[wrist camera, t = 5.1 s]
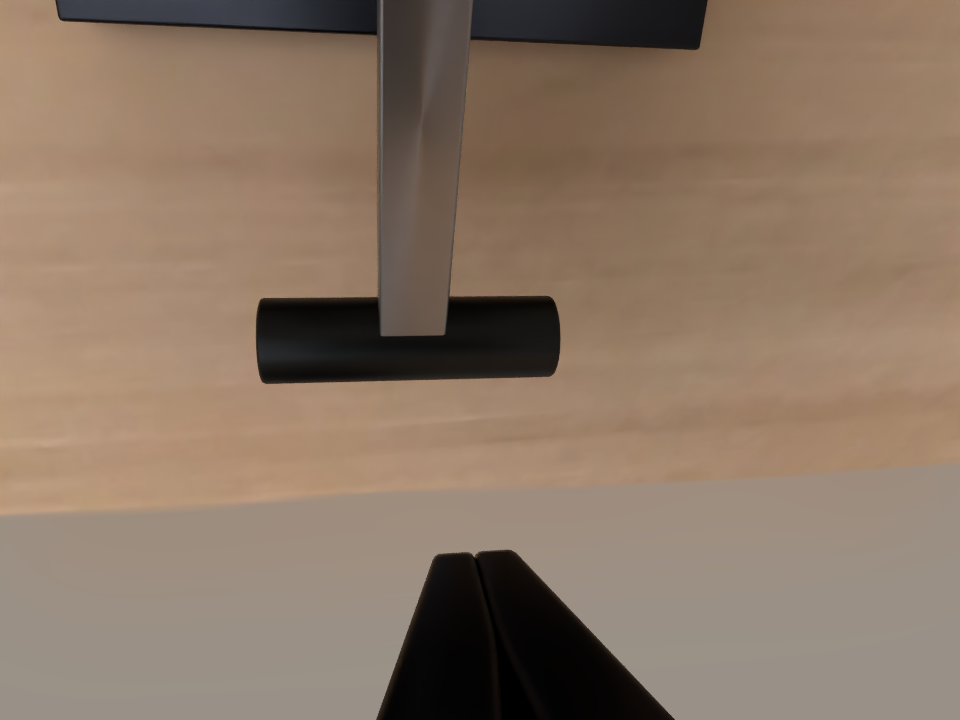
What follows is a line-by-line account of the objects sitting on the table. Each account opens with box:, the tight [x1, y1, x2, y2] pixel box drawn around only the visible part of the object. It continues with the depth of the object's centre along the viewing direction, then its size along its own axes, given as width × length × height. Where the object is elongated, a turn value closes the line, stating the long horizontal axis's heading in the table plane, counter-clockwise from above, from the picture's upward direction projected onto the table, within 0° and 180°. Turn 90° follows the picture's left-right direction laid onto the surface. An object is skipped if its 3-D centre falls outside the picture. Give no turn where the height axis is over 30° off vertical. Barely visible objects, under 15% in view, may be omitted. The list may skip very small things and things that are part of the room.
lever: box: [256, 0, 560, 384], centre depth 9 cm, size 12×5×2 cm, turn 177°
